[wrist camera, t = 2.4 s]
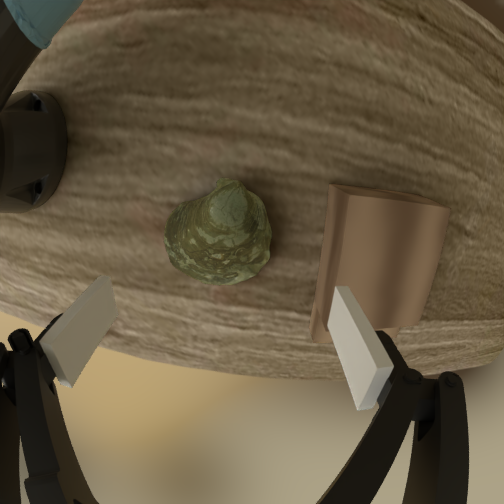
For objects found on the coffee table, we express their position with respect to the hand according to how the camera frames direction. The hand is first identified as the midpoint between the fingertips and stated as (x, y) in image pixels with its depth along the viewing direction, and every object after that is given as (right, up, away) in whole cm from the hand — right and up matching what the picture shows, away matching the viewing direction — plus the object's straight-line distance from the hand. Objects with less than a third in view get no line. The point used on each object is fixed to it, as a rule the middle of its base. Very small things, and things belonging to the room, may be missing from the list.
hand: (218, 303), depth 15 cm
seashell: (-2, +5, +13) cm, 14 cm away
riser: (+15, +1, +14) cm, 20 cm away
